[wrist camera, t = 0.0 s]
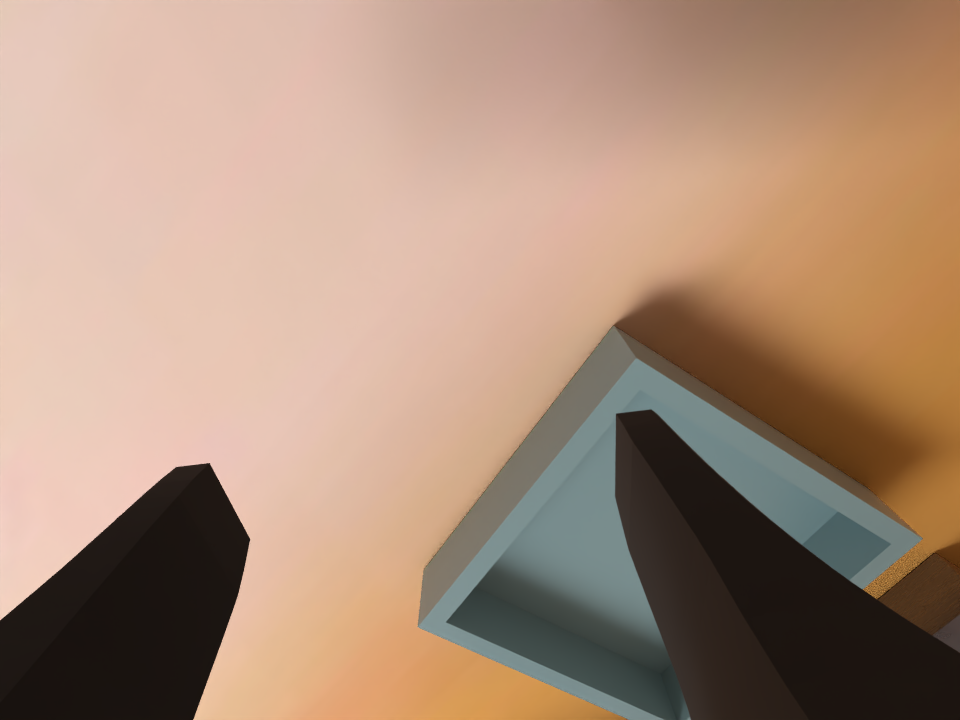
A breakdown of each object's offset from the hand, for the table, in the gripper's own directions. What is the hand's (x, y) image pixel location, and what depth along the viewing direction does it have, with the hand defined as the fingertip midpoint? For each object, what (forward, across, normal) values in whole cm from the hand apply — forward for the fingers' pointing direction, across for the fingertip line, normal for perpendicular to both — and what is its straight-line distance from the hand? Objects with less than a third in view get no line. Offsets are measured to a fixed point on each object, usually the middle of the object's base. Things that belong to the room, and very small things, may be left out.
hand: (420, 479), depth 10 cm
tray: (+8, -7, +13) cm, 17 cm away
